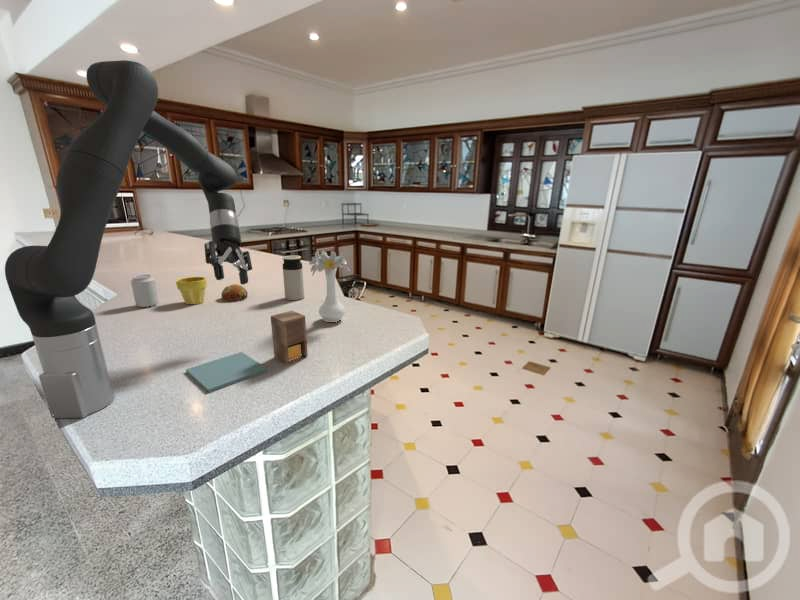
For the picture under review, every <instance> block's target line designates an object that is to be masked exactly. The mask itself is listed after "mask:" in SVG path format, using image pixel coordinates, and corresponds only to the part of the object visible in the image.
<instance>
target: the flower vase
mask: <svg viewBox="0 0 800 600" xmlns="http://www.w3.org/2000/svg"><path fill="white" fill-rule="evenodd" d="M347 263H348V262H347V260H346V257H345V256H343V252H342V251H340V254H339V255H338V256H337V253H336V251H334V250H332V251H331V252H330V255H328V253H327V252H326V251H324V250H322V251H321V252H319V251H316V252H315V253H314V256H312V257H311V261H309V262H308V264H309V265H310V266H311V268H310V272H312V277H314V275H315V273H316V272H319V273H320V272H322V271H324V273H325V278H326V279H325V280H326V297H325V300H324V302H323V303H322V304H321V306H320V307H319V308H318V315H319V316H320V317H321V318H322V319H323V322H325V321H326V322H325V323H327V322H336V321H339V320H342V318H343V317H344V316H345V314H346V307H345V306H344V305H343V303H341V302H340V300H339V298H338V295H337V288H336V275H337V274H336V273H337V270H338V268H345V269H346V270H347V271H349V272H351V270H350V268H349V267H348V266H347ZM339 322H340V321H339ZM336 323H337V322H336Z"/></svg>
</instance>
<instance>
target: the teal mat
mask: <svg viewBox="0 0 800 600" xmlns="http://www.w3.org/2000/svg"><path fill="white" fill-rule="evenodd" d="M185 371H186V374H188V375H189V376H190V378H192V379H193V381H195V382H196V383H197V384H199V386H201V388H203V389H204V390H205V391H206V392H207V393H209V394H210V393H212V392H215V391H218V390H221V389H223V388H226V387H228V386H231V385H233V384H236V383H239V382H241V380H242V381H244V380H247V379H250V378H252V377H255V376H257V375H260V374H263V373H266V372H268V368H267V367H266V366H264V365H263V364H261V363H260V362H258V361H256V360H255V359H253V358H252V357H250V356H248V354H246V353H244V352H242V351H240V352H237V353H233V354H230V355H227V356H224V357H220V358H217V359H215V360H212V361H207V362H205V363H201V364H199V365H196V366H191V367H188V368H186V369H185ZM246 378H247V379H246Z"/></svg>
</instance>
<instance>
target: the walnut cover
mask: <svg viewBox="0 0 800 600" xmlns="http://www.w3.org/2000/svg"><path fill="white" fill-rule="evenodd" d="M270 323H271V326H270V327H271V335H272V336H271V337H272V346H273V357H274V358H275V359H277V358H278V359H277V360H278V361H280V360H281V361H280V362H282V361H283V362H282V363H284V362H285V363H286V364H285V363H284V364H285V365H289V364H290V361H289V357H288V346H290V345H293V344H296V343H300V344H301V354H302V355H304V356H308V355H309V354H308V340H307V325H306V315H304V314H301V313H299V312H297V311H294V310H290V311H289V310H288V311H285V312H280V313H277V314H273V315H270ZM302 355H301V356H302ZM304 356H303V357H304ZM288 363H289V364H288Z"/></svg>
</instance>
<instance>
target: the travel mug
mask: <svg viewBox="0 0 800 600" xmlns="http://www.w3.org/2000/svg"><path fill="white" fill-rule="evenodd" d="M301 258H302V256H300V255H286V256H285V255H284V256H282V259H283V263H282V275H283V276H282V277H283V286H284V287H283V288H284V298H285V300H287V301H299V299H300V300H303V299H304V298H305V287H304V284H305V283H304V273H303V272H304V270H303V263H302V261H301V260H302V259H301Z"/></svg>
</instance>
